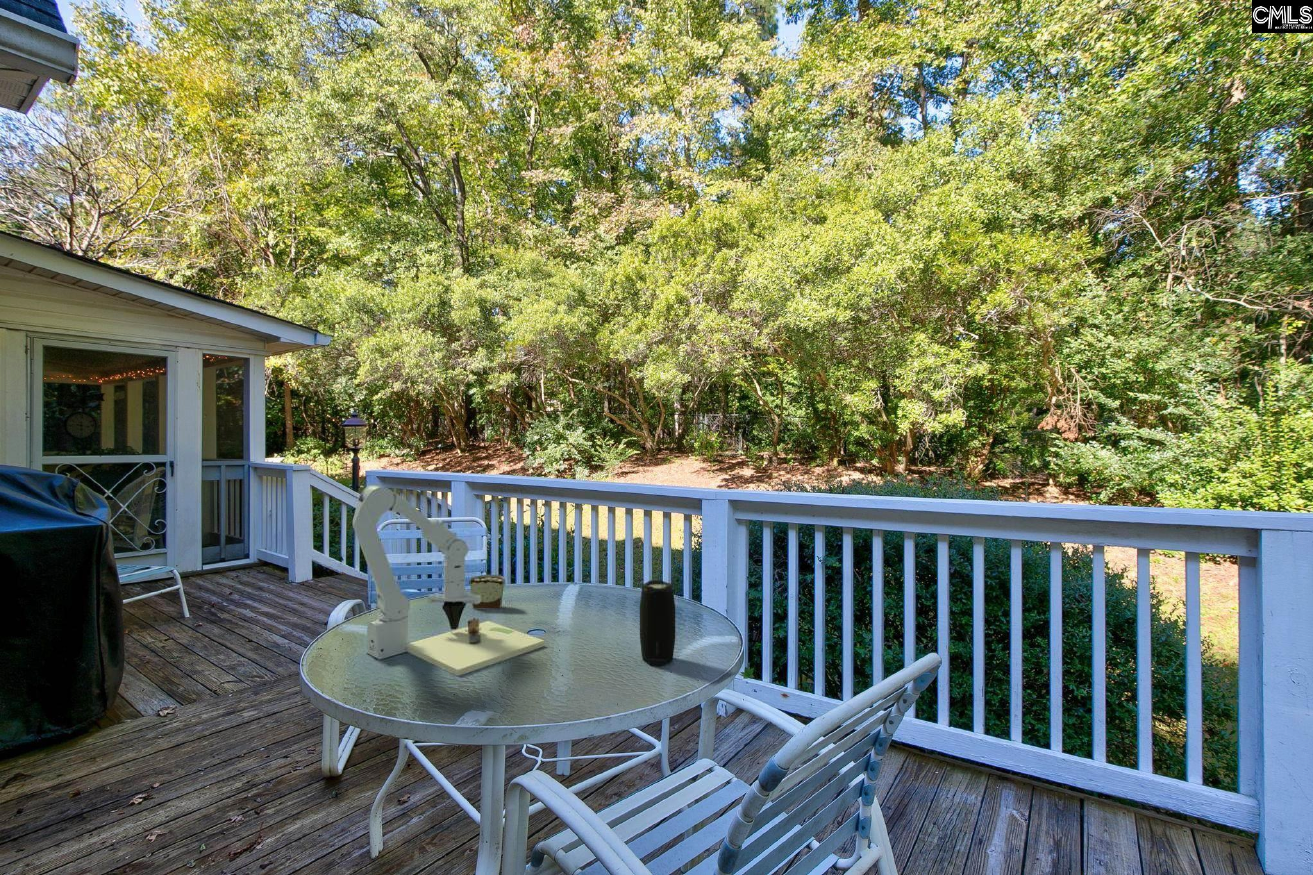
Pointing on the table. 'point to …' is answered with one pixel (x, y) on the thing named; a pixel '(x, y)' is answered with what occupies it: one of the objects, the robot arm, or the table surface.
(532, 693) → the table surface
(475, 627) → the dial needle
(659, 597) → the portable speaker
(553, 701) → the table surface
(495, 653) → the dial board
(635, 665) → the table surface
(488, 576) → the food container
